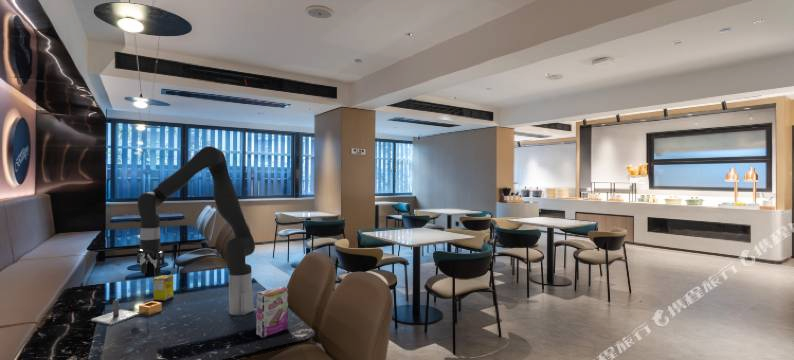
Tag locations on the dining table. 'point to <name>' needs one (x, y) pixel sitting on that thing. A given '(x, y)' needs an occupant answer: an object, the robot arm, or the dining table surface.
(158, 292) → the supplement box
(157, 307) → the link
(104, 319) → the keeper
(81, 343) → the dining table surface
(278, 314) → the candy bar box
